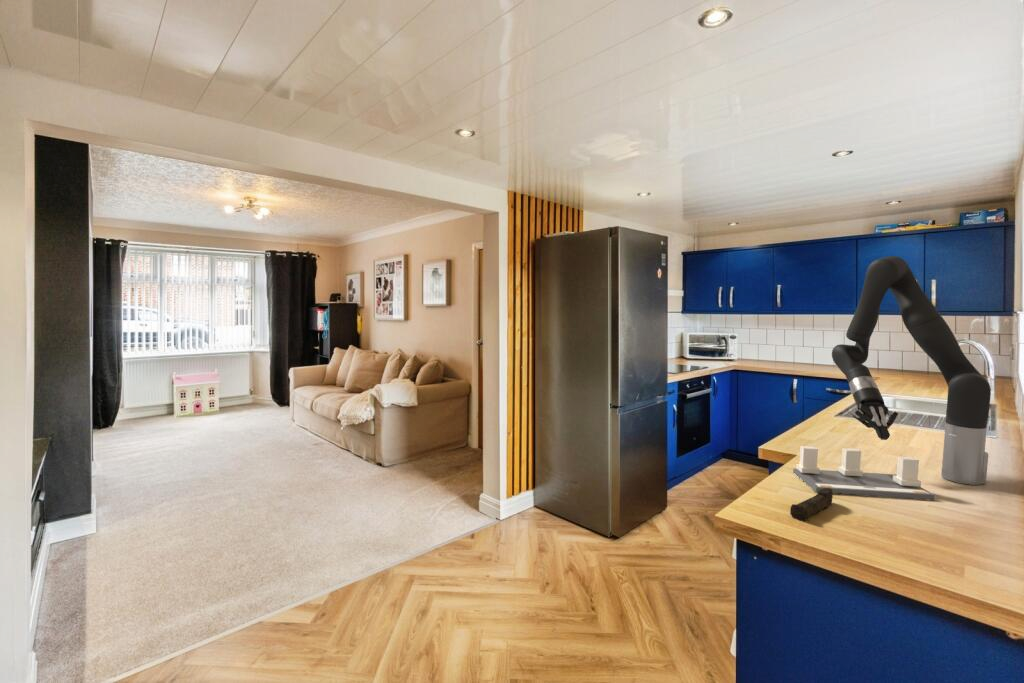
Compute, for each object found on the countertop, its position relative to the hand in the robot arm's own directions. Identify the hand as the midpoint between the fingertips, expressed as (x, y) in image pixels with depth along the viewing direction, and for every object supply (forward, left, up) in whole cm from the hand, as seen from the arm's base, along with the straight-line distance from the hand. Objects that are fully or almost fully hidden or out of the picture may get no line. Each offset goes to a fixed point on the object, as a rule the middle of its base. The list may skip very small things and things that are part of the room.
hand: (885, 438), depth 151 cm
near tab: (0, +12, -10) cm, 15 cm away
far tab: (+24, +6, -10) cm, 27 cm away
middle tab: (+12, +6, -10) cm, 17 cm away
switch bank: (+12, +11, -12) cm, 20 cm away
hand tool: (+33, +32, -12) cm, 47 cm away
